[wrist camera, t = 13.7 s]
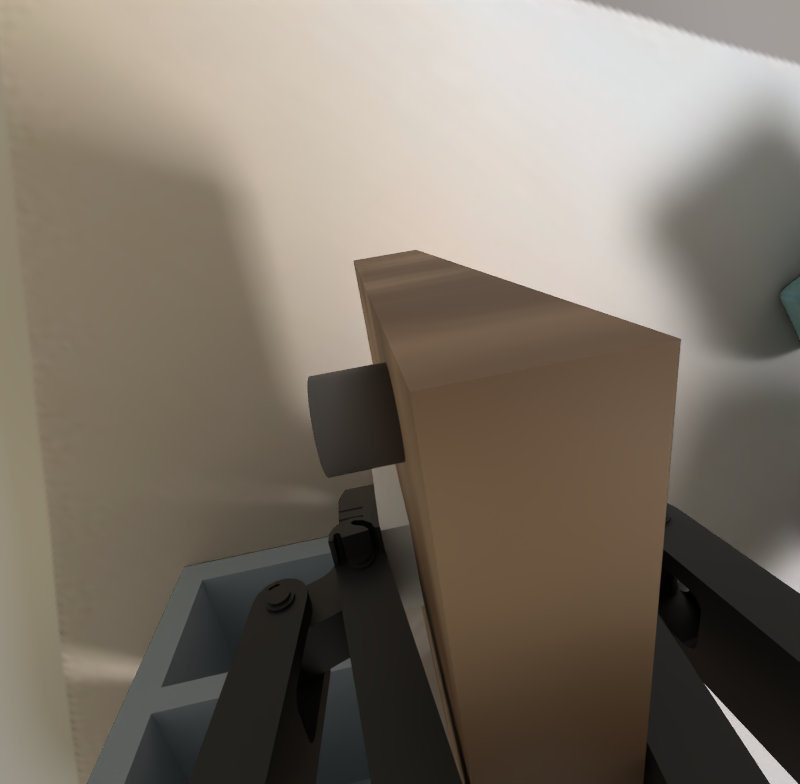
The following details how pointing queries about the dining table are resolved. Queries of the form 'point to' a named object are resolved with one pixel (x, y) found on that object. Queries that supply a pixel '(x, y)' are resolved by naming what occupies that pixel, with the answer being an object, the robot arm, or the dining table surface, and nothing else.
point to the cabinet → (218, 674)
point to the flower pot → (792, 303)
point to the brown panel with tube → (517, 508)
